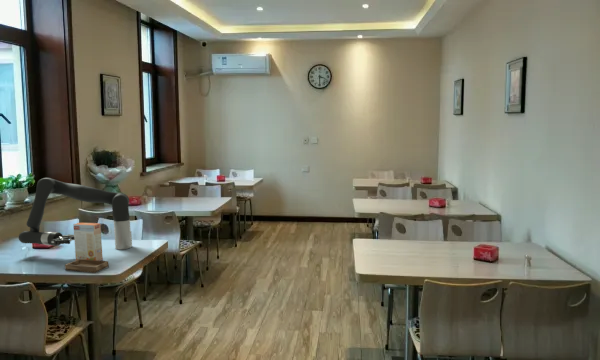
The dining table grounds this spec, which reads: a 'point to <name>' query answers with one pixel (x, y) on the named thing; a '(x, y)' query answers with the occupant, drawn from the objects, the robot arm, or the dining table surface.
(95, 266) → the tray
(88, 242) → the cracker box
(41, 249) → the dining table surface
